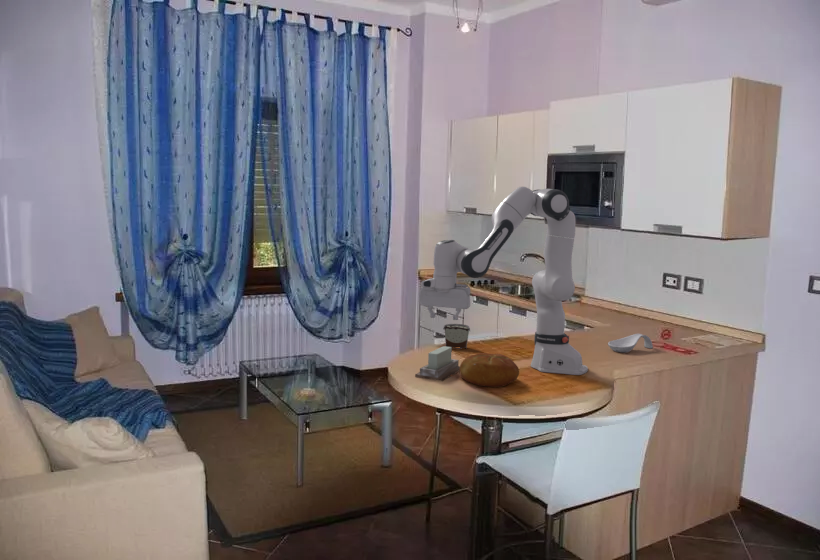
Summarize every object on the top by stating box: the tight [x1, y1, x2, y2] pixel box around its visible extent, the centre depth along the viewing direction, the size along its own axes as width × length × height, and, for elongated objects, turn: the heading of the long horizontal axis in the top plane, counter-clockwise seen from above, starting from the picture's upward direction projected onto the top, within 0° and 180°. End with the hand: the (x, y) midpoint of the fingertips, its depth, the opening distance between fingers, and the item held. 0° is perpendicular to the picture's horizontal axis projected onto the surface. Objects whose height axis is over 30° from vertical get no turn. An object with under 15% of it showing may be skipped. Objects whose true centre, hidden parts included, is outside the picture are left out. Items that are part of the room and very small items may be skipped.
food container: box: [443, 323, 471, 349], centre depth 306 cm, size 12×6×10 cm, turn 74°
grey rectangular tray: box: [414, 358, 460, 382], centre depth 259 cm, size 11×20×4 cm, turn 154°
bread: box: [459, 352, 520, 388], centre depth 250 cm, size 23×23×10 cm
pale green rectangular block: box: [427, 345, 453, 370], centre depth 259 cm, size 4×14×8 cm, turn 154°
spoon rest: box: [607, 333, 654, 354], centre depth 309 cm, size 24×12×7 cm, turn 119°
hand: (444, 318), depth 258 cm, fingers open, 8 cm apart
